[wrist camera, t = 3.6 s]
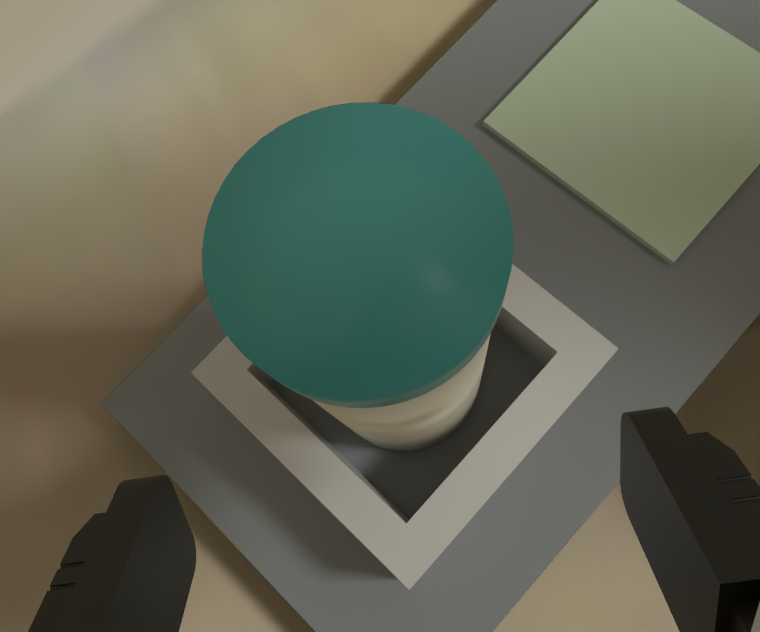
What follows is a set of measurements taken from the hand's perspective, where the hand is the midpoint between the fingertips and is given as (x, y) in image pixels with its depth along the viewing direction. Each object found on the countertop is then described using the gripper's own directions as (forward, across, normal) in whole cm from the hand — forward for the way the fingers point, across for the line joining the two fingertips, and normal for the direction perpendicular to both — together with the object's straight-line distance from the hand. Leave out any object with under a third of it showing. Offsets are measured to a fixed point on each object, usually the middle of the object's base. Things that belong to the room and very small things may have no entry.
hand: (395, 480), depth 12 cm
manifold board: (+13, -4, +3) cm, 14 cm away
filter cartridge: (+9, 0, +4) cm, 10 cm away
